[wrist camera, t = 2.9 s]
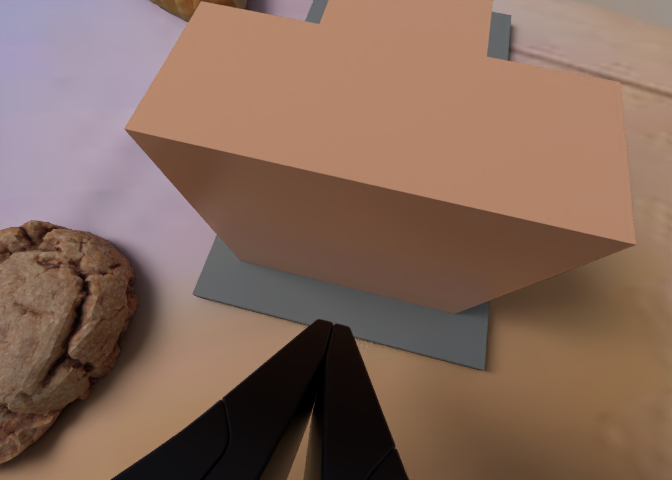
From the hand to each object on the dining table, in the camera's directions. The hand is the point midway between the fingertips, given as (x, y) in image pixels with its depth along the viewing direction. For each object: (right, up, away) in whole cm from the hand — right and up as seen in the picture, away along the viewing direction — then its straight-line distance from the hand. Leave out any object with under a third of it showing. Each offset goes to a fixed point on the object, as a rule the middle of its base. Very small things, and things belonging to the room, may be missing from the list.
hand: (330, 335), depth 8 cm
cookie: (-14, -2, +7) cm, 16 cm away
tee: (+2, +6, +8) cm, 11 cm away
